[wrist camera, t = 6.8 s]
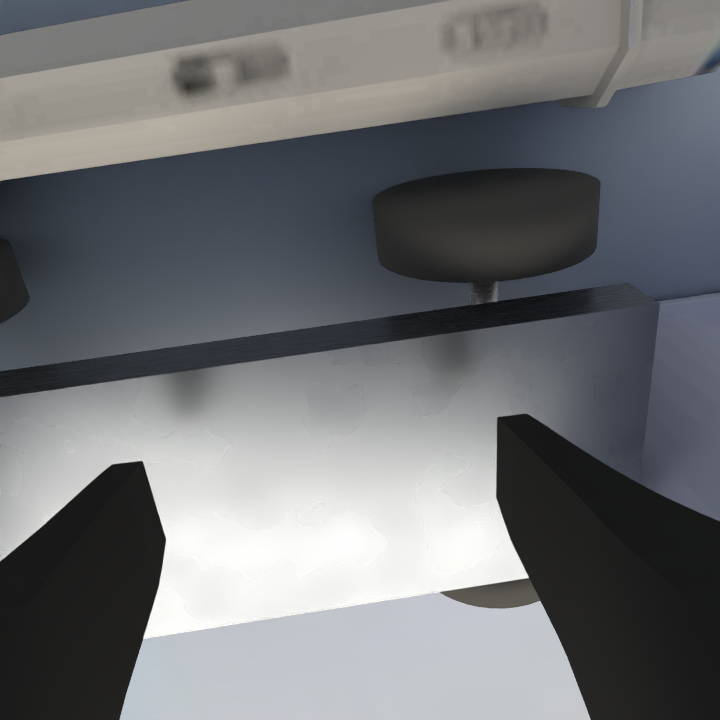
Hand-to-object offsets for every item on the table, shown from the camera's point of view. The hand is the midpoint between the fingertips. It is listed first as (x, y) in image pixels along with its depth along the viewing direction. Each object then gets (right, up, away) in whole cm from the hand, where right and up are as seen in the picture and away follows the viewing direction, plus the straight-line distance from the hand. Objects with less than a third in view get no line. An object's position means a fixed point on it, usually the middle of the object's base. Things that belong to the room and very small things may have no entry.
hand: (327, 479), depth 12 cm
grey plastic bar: (-3, +11, +5) cm, 12 cm away
